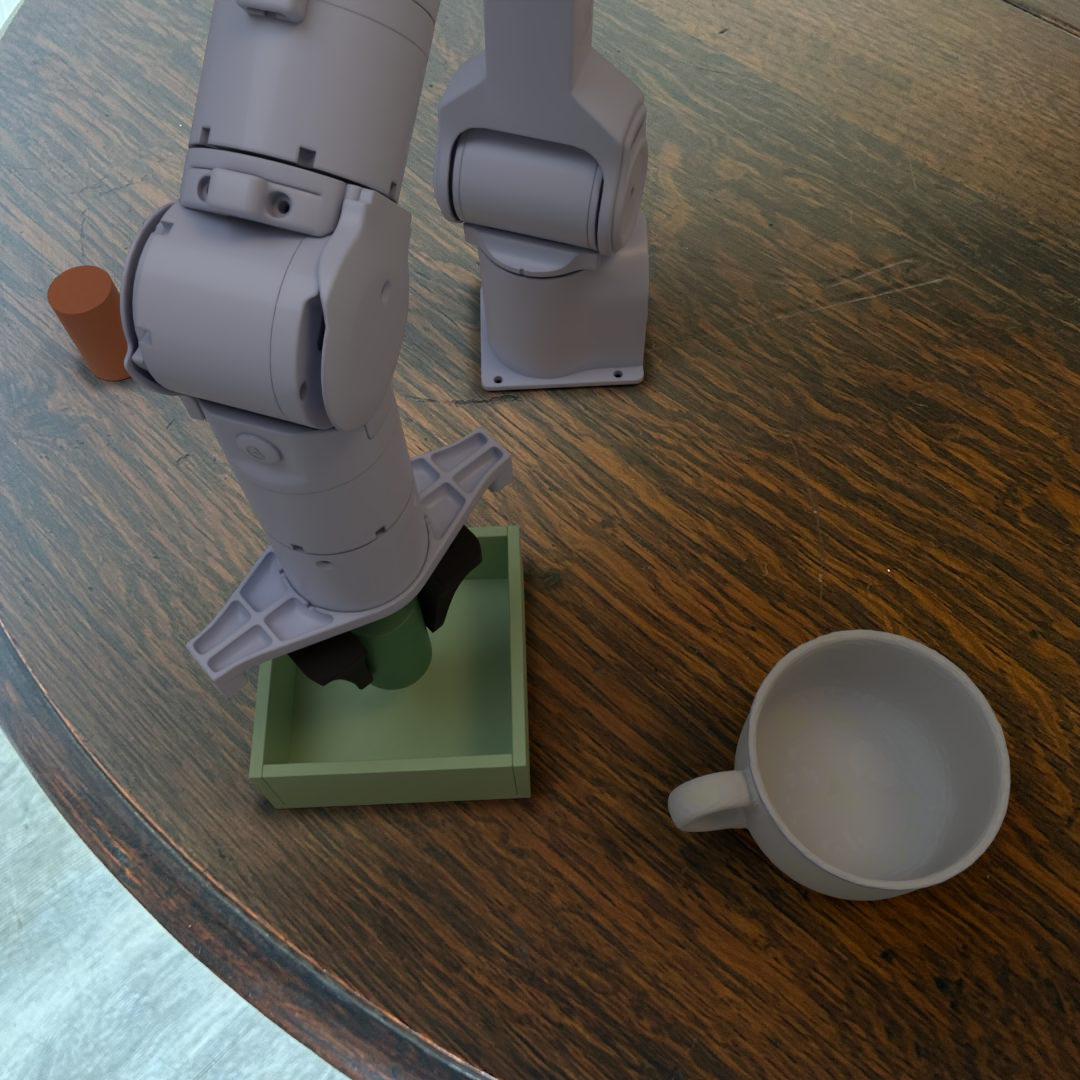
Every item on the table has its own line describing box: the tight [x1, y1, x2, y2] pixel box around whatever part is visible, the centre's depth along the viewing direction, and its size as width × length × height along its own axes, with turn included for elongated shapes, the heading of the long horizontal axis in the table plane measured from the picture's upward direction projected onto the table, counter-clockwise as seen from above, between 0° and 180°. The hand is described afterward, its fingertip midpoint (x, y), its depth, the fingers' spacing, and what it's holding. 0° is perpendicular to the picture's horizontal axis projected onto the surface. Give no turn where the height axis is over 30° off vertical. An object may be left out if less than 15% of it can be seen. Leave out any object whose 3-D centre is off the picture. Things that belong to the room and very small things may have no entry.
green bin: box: [248, 524, 532, 810], centre depth 52 cm, size 12×12×5 cm
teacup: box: [667, 628, 1012, 902], centre depth 47 cm, size 14×11×8 cm
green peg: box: [350, 595, 432, 690], centre depth 49 cm, size 4×4×6 cm
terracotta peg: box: [46, 264, 132, 382], centre depth 63 cm, size 4×4×6 cm
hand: (390, 642), depth 50 cm, fingers closed on green peg, 3 cm apart
